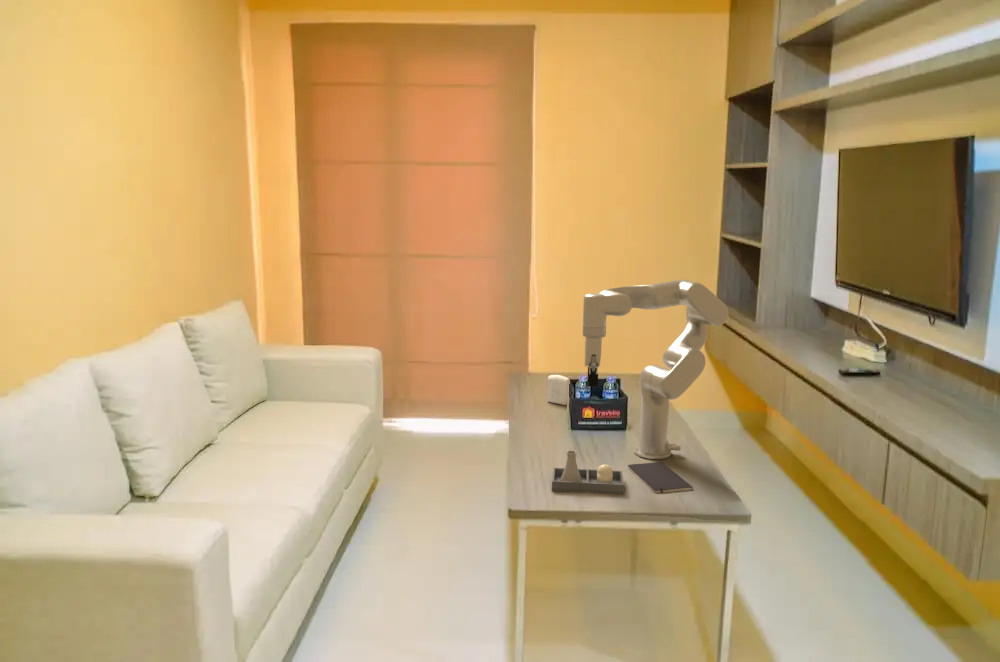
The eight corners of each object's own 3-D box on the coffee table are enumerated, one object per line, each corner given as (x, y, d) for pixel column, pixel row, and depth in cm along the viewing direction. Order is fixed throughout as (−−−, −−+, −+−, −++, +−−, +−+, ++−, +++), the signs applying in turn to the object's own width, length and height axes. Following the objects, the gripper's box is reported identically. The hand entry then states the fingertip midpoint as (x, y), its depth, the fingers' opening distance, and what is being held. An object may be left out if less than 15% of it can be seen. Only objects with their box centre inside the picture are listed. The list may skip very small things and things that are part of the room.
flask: (579, 477, 229) (580, 447, 227) (584, 486, 222) (585, 455, 220) (557, 478, 228) (558, 448, 226) (561, 487, 221) (562, 456, 219)
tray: (621, 479, 228) (621, 470, 228) (623, 494, 218) (623, 485, 217) (553, 476, 231) (553, 467, 230) (551, 490, 220) (551, 481, 219)
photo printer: (570, 403, 310) (571, 376, 308) (566, 406, 307) (566, 378, 304) (550, 399, 316) (550, 372, 314) (545, 402, 312) (545, 374, 310)
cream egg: (611, 481, 226) (612, 462, 224) (612, 487, 221) (613, 468, 220) (596, 480, 226) (597, 461, 225) (596, 486, 221) (597, 467, 220)
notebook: (692, 491, 221) (661, 466, 242) (692, 486, 221) (662, 461, 241) (654, 495, 219) (626, 469, 239) (654, 490, 218) (626, 464, 239)
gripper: (582, 326, 243) (581, 375, 246) (582, 336, 226) (581, 388, 229) (605, 326, 242) (603, 375, 245) (606, 337, 225) (604, 389, 228)
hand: (592, 382), depth 237 cm, fingers open, 9 cm apart
